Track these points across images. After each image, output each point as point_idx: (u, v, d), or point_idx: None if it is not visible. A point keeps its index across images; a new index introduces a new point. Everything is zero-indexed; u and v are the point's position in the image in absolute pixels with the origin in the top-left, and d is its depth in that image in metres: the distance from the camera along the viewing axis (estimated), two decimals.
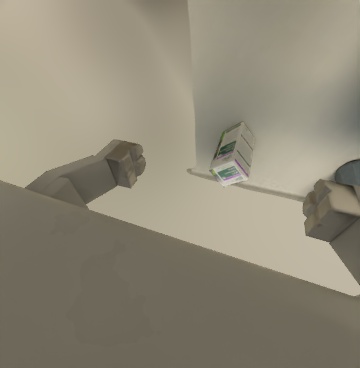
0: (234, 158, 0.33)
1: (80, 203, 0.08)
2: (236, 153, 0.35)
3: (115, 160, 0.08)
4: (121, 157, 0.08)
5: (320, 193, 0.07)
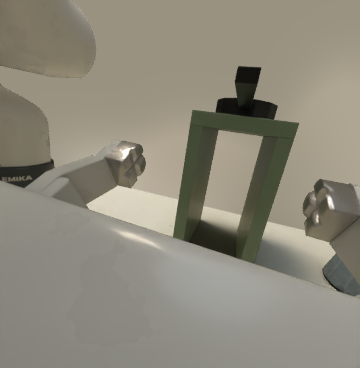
0: None
1: (80, 203, 0.08)
2: None
3: (115, 160, 0.08)
4: (121, 157, 0.08)
5: (320, 193, 0.07)
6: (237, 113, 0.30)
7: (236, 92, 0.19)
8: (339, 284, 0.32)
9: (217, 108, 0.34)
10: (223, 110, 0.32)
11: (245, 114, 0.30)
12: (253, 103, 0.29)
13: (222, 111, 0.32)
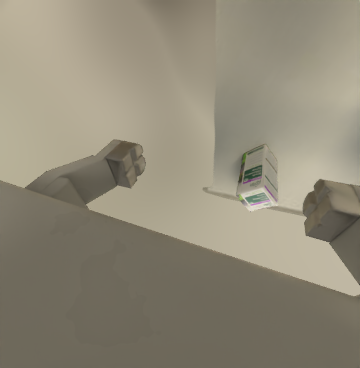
0: (263, 184, 0.33)
1: (80, 203, 0.08)
2: (264, 178, 0.34)
3: (115, 160, 0.08)
4: (121, 157, 0.08)
5: (320, 193, 0.07)
6: None
7: None
8: None
9: None
10: None
11: None
12: None
13: None
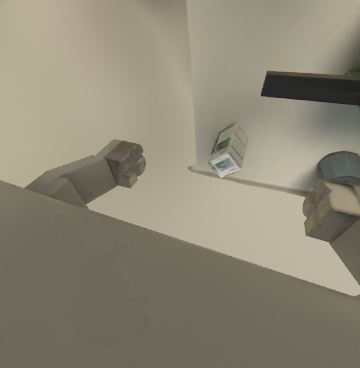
0: (228, 151, 0.40)
1: (80, 203, 0.08)
2: (230, 147, 0.41)
3: (115, 160, 0.08)
4: (121, 157, 0.08)
5: (320, 193, 0.07)
6: None
7: None
8: (335, 155, 0.44)
9: None
10: None
11: None
12: None
13: None
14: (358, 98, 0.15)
